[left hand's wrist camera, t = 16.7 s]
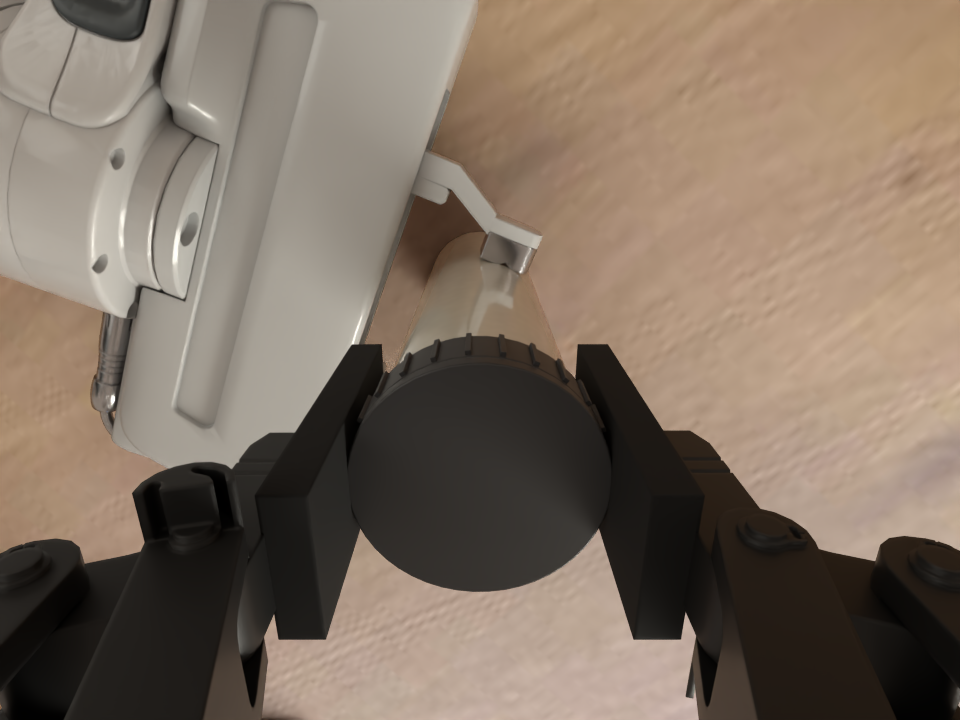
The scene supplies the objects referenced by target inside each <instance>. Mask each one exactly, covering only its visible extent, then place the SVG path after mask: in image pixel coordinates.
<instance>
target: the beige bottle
mask: <svg viewBox="0 0 960 720" xmlns="http://www.w3.org/2000/svg"><path fill="white" fill-rule="evenodd" d="M485 235H486V233H485V232H471V233H467V234H464V235H461V236H459V237H457V238H455V239H454V240H452V241H451V242H449V243H448V244H447V245H446V246H445V247H444V248H443V249H442V250H441V252H440V253H439V255H438V257H437V259H436V261H435V263H434V266H433V268H432V271H431V274H430V276H429V279H428V281H427V284H426V286H425V289H424V292H423V294H422V297H421V299H420V302H419V304H418V307H417V310H416V312H415V315H414V317H413V320H412V323H411V325H410V328H409V330H408V333H407V335H406V338H405V341H404V343H403V346H402V348H401V351H400V353H399V356H398V359H397V361H396V364H395V366H394V368H395V367H396V366H397V365H398V364H400V363H401V362H402V361H403V360H404V358H405V355H406V354H407V353H409V352H411V354H414V353H416V352H417V351H419V350H421V349H423V348H425V347H428V346H430V345H433V343H434V340H436V339H440V342H441V341H445V340H449V339H452V338H459V337H466V333H472V336H493V337H499V334H503V335H504V336H505V338H506V339H510V340H515V341H519V342H521V343H524V344H527V345H530V343H533V344H535V345H536V348H537V349H538V350H540V351H542V352H544V353H545V354H547V355H549V356H550V357H552V358H553V359H554V360H557V359H558V358H559V359H561V360H562V358H561V355H560V353H559V350H558V347H557V345H556V342H555V340H554V337H553V334H552V332H551V329H550V327H549V324H548V321H547V319H546V316H545V314H544V311H543V309H542V306H541V303H540V301H539V298H538V296H537V293H536V290H535V288H534V285H533V283H532V280H531V277H530V275H529V272H528V271H527V273H526V274H520V273H517V272H515V271H513V270H511V269H509V268H508V266H507V265H506V263H503V264H495V263H492V262H490V261H487V260H485V259H482V258H480V253H481V252H480V248H481V245H482V243H483V240H484V237H485ZM562 362H563V360H562ZM563 364H564V363H563ZM564 367H565V366H564ZM565 369H566V368H565Z"/></svg>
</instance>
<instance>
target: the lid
mask: <svg viewBox="0 0 960 720" xmlns="http://www.w3.org/2000/svg"><path fill="white" fill-rule="evenodd" d="M357 422H358V423H360V425H359V428H358V430H357V432H356V435H355V437H354V440H353V443H352V445H351V448H350V452H349V457H348V462H347V470H348V482H349V492H350V501H351V509H352V511H353V514H354V516H355V518H356V521H357V523H358V525H359V527H360V528H361V530H362V532H363V533H364V535H365V537H366V538H367V539H368V540H369V542H370V543H371V544H372V545H373V546H374V548H375V549H376V550H377V551H378V552H379V553H380V554H381V555H382V556H384V557H385V558H386V559H387V560H388V561H389V562H391V563H392V564H393V565H395V566H396V567H397V568H399V569H401V570H402V571H404V572H406V573H408V574H409V575H411V576H413V577H415V578H418V579H420V580H422V581H424V582H427V583H430V584H433V585H436V586H440V587H444V588H449V589H453V590H460V591H471V592H490V591H499V590H506V589H511V588H515V587H520V586H523V585H526V584H529V583H532V582H535V581H537V580H539V579H542V578H544V577H546V576H548V575H550V574H552V573H553V572H555V571H557V570H558V569H560V568H562V567H563V566H564V565H566V564H567V563H568V562H570V561H571V560H572V559H573V558H575V557H576V556H577V555H578V554H579V553H580V552H581V551H582V550H583V549H584V548H585V547H586V546H587V544H588V543H589V542H590V540H591V539H592V538H593V537H594V535H595V534H596V532H597V530H598V528H599V527H600V525H601V523H602V521H603V519H604V516H605V514H606V511H607V509H608V505H609V496H610V486H611V475H612V461H611V456H610V452H609V447H608V445H607V442H606V440H605V437H604V435H603V433H604V432H606V428H605V426H604V424H603V421H602V419H601V417H600V415H599V412H598V410H597V408H596V406H595V404H593V405H592V402H591V400H590V398H589V395H588V393H587V391H586V389H585V386H584V384H583V382H582V381H581V379H579V380H578V381H576V379H575V378H574V377H573V376H572V374H571V373H569V372H568V371H567V370H566V369H565V367H564V364H563V362H562V360H561V359H559V358H558V359H557V360H554V359H553V358H552V357H550V356H549V355H547V354H545V353H544V352H542V351H540V350H538V349H537V348H536V345H535V344H533V343H530V345H527V344H524V343H521V342H519V341H515V340H510V339H506V338H505V336H504V335H503V334H499V337H493V336H472V333H466V337H459V338H452V339H449V340H445V341H441V342H440V339H436V340H434V343H433V345H430V346H428V347H425V348H423V349H421V350H419V351H417V352H416V353H414V354H411V352H409V353H407V354H406V355H405V358H404V360H403V361H402V362H401V363H400V364H398V365H397V366H396V367H395V368H394V369H393V370H392V371H391V372H390V373H388V372H387V371H385V373H384V374H383V375H382V378H381V380H380V382H379V385H378V387H377V389H376V391H375V393H374V395H373V396H370V395H368V397H367V399H366V401H365V404H364V406H363V408H362V410H361V413H360V415H359V417H358V419H357Z"/></svg>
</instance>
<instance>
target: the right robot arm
mask: <svg viewBox="0 0 960 720" xmlns="http://www.w3.org/2000/svg"><path fill="white" fill-rule="evenodd" d="M477 14H478V0H0V275H1V276H4V277H7V278H9V279H12V280H15V281H18V282H21V283H24V284H26V285H29V286H32V287H35V288H38V289H41V290H43V291H46V292H49V293H52V294H54V295H57V296H60V297H63V298H66V299H69V300H71V301H74V302H77V303H80V304H83V305H86V306H89V307H91V308H94V309H97V310H100V311H103V318H102V324H101V330H100V336H99V359H98V360H99V361H98V368H97V373H96V374H95V375H94V378H93V380H92V384H91V392H90V397H91V405H92V407H93V408H94V409H95V410H97V411H100V415H101V419H102V422H103V424H104V426H105V428H106V429H107V431H108V432H109V434H110V435H111V438H112V440H113V442H114V443H115V444H116V445H118V446H119V447H121V448H123V449H125V450H127V451H129V452H132V453H135V454H139V455H142V456H145V457H148V458H150V459H151V460H153V461H155V462H157V463H158V464H160V465H162V466H164V467H166V468H168V469H170V468H172V467H175V466H179V465H184V464H189V463H194V462H215V463H220V464H224V465H227V466H228V467H229V468H231V469H232V468H233V467H234V465H235V464H236V463H239V459H240V458H241V456H242V455H243V454H244V452H245V451H246V450H247V449H248V447H249V446H250V445H251V444H253V443H254V442H256V441H257V440H259V439H260V438H262V437H264V436H265V435H267V434H268V433H275V432H296V430H297V428H298V427H299V425H300V424H301V422H302V421H303V419H304V418H305V416H306V414H307V413H308V411H309V410H310V408H311V407H312V405H313V404H314V402H315V400H316V399H317V397H318V396H319V394H320V393H321V391H322V390H323V388H324V387H325V385H326V383H327V382H328V380H329V379H330V377H331V376H332V374H333V373H334V371H335V369H336V368H337V366H338V365H339V363H340V362H341V360H342V359H343V357H344V355H345V354H346V352H347V351H348V349H349V348H350V346H351V345H352V344H365V341H366V338H367V335H368V332H369V329H370V326H371V324H372V321H373V318H374V315H375V312H376V309H377V306H378V303H379V300H380V297H381V295H382V292H383V289H384V286H385V283H386V280H387V277H388V274H389V271H390V268H391V266H392V263H393V260H394V257H395V254H396V251H397V248H398V245H399V242H400V240H401V237H402V234H403V231H404V228H405V225H406V222H407V219H408V216H409V213H410V211H411V208H412V205H413V202H414V199H415V196H416V195H417V196H419V197H422V198H425V199H427V200H430V201H432V202H435V203H437V204H440V205H442V204H443V203H445V202H446V200H447V199H448V197H449V194H450V192H451V190H452V191H453V192H454V193H455V195H456V196H457V197H458V199H459V200H460V201H461V202H462V204H463V205H464V206H465V207H466V209H467V210H468V211H469V212H470V214H471V215H472V216H473V217H474V219H475V220H476V221H477V222H478V224H479V225H480V226H481V228H482V229H483V230H484V231H485V233H486V235H485V237H484V240H483V243H482V245H481V248H480V252H481V253H480V258H482V259H485V260H487V261H490V262H492V263H495V264H503V263H506V265H507V266H508V268H509V269H511V270H513V271H515V272H517V273H520V274H526V273H527V271H528V269H529V267H530V264H531V262H532V260H533V258H534V256H535V253H536V251H537V249H538V246H539V244H540V242H541V240H542V237H543V235H542V234H541V232H540V231H538V230H536V229H534V228H532V227H530V226H528V225H525V224H523V223H521V222H518V221H516V220H513V219H511V218H509V217H506V216H504V215H501V214H499V213H496V209H495V207H494V206H493V205H492V203H491V202H490V201H489V199H488V198H487V197H486V195H485V194H484V193H483V191H482V190H481V189H480V187H479V186H478V185H477V184H476V182H475V181H474V180H473V178H472V177H471V176H470V174H469V173H468V172H467V170H466V169H465V168H464V166H463V165H462V164H461V163H459V162H456V161H454V160H452V159H449V158H447V157H444V156H442V155H440V154H437V153H435V152H433V151H431V150H432V147H433V144H434V141H435V138H436V135H437V132H438V129H439V126H440V124H441V121H442V118H443V115H444V112H445V109H446V106H447V103H448V100H449V98H450V95H451V92H452V89H453V86H454V83H455V80H456V77H457V74H458V71H459V69H460V66H461V63H462V60H463V57H464V54H465V51H466V48H467V45H468V42H469V39H470V37H471V34H472V31H473V28H474V25H475V22H476V18H477ZM386 367H387V366H386V363H385V362H383V373H384V372H385V370H386ZM113 411H116V413H115V419H114V417H113V413H112V412H113Z"/></svg>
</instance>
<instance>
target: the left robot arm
mask: <svg viewBox="0 0 960 720" xmlns="http://www.w3.org/2000/svg"><path fill="white" fill-rule="evenodd" d="M383 374H384V373H383V358H382V344H352V345H351V346H350V348H349V349H348V351H347V352H346V354H345V355H344V357H343V359H342V360H341V362H340V363H339V365H338V366H337V368H336V369H335V371H334V373H333V374H332V376H331V377H330V379H329V380H328V382H327V383H326V385H325V387H324V388H323V390H322V391H321V393H320V394H319V396H318V397H317V399H316V400H315V402H314V404H313V405H312V407H311V408H310V410H309V411H308V413H307V414H306V416H305V418H304V419H303V421H302V422H301V424H300V425H299V427H298V428H297V430H296V432H275V433H268V434H267V435H265V436H264V437H262V438H260V439H259V440H257V441H256V442H254V443H253V444H251V445H250V446H249V447H248V449H247V450H246V451H245V452H244V454H243V455H242V456H241V458H240V459H239V463H236V464H235V465H234V467H233V468H232V469H231V468H229V467H228V466H227V465H224V464H220V463H215V462H194V463H189V464H184V465H179V466H175V467H172V468H170V469H167V470H164V471H162V472H159V473H157V474H155V475H153V476H152V477H150V478H148V479H147V480H145V481H143V482H142V483H141V484H140V485H139V486H138V487H137V488H136V489H135V490H134V492H133V493H132V495H133V499H134V502H135V506H136V510H137V514H138V518H139V522H140V526H141V530H142V533H143V537H144V541H145V543H144V545H143V548H142V550H141V552H137V553H134V554H130V555H126V556H121V557H116V558H111V559H106V560H101V561H96V562H92V563H87V564H85V563H84V560H83V557H82V554H81V551H80V547H78V546H77V545H76V544H74V543H73V542H72V541H69V540H62V539H49V540H40V541H33V542H29V543H25V544H24V545H22V544H21V545H18V546H15V547H12V548H10V549H8V550H7V551H5V552H3V553H1V554H0V704H1V706H2V709H1V710H0V720H261V717H262V709H263V700H264V691H265V682H266V673H267V664H268V659H267V652H266V646H265V640H264V635H265V633H266V631H267V629H268V626H269V624H270V622H271V620H272V617H273V615H275V621H276V627H277V633H278V639H279V640H326V637H327V634H328V631H329V628H330V624H331V621H332V618H333V615H334V612H335V608H336V605H337V602H338V599H339V596H340V592H341V589H342V586H343V583H344V579H345V576H346V573H347V570H348V567H349V563H350V560H351V557H352V554H353V551H354V547H355V544H356V541H357V538H358V534H359V531H360V527H359V525H358V523H357V521H356V518H355V516H354V514H353V511H352V509H351V501H350V492H349V482H348V470H347V462H348V457H349V452H350V448H351V445H352V443H353V440H354V437H355V435H356V432H357V430H358V428H359V425H360V423H358V422H357V419H358V417H359V415H360V413H361V410H362V408H363V406H364V404H365V401H366V399H367V397H368V395H370V396H373V395H374V393H375V391H376V389H377V387H378V385H379V382H380V380H381V378H382V375H383ZM579 379H581V381H582V382H583V384H584V386H585V389H586V391H587V393H588V395H589V398H590V400H591V402H592V405H593V404H595V406H596V408H597V410H598V412H599V415H600V417H601V419H602V421H603V424H604V426H605V428H606V432H604V433H603V435H604V437H605V440H606V442H607V445H608V447H609V452H610V456H611V461H612V475H611V486H610V496H609V505H608V509H607V511H606V514H605V516H604V519H603V521H602V523H601V525H600V527H599V530H600V533H601V536H602V539H603V543H604V546H605V549H606V552H607V556H608V559H609V562H610V565H611V568H612V572H613V575H614V578H615V581H616V584H617V588H618V591H619V594H620V597H621V601H622V604H623V607H624V610H625V613H626V617H627V620H628V623H629V626H630V630H631V633H632V636H633V639H634V640H681V635H682V629H683V623H684V617H685V611H686V614H687V616H688V618H689V620H690V623H691V625H692V627H693V629H694V632H695V634H696V640H695V646H694V651H693V657H692V662H691V668H690V674H689V679H688V685H687V691H686V697H689V698H693V697H694V692H695V690H696V698H697V707H698V716H699V720H960V707H959V706H958V704H959V702H960V551H959V550H957V549H955V548H953V547H951V546H949V545H947V544H944V543H941V542H935V541H934V540H930V539H925V538H917V537H908V536H901V537H894V538H889V539H887V540H886V541H885V542H883V543H882V544H881V545H880V548H879V551H878V555H877V558H876V561H871V560H866V559H861V558H856V557H851V556H846V555H841V554H836V553H831V552H828V551H824V550H820V549H818V547H817V544H816V542H815V541H814V540H813V538H812V537H811V536H810V534H809V533H808V532H807V530H805V529H804V528H803V527H801V526H800V525H798V524H797V523H796V522H794V521H793V520H791V519H789V518H786V517H784V516H782V515H779V514H777V513H775V512H771V511H767V510H763V509H760V508H759V507H758V505H757V504H756V503H755V501H754V500H753V499H752V498H751V496H750V495H749V494H748V492H747V491H746V490H745V488H744V487H743V486H742V485H741V483H740V482H739V481H738V479H737V478H736V477H735V476H734V474H733V473H730V469H729V468H728V466H727V465H726V464H725V463H724V461H721V457H720V456H719V455H718V454H717V452H716V451H715V450H714V448H713V447H712V446H711V444H710V443H708V442H707V441H705V440H704V439H702V438H701V437H699V436H697V435H696V434H694V433H693V432H691V431H663V429H662V428H661V426H660V425H659V423H658V422H657V420H656V419H655V417H654V415H653V414H652V412H651V411H650V409H649V408H648V406H647V405H646V403H645V401H644V400H643V398H642V397H641V395H640V394H639V392H638V391H637V389H636V387H635V386H634V384H633V383H632V381H631V380H630V378H629V377H628V375H627V373H626V372H625V370H624V369H623V367H622V366H621V364H620V363H619V361H618V359H617V358H616V356H615V355H614V353H613V352H612V350H611V349H610V347H609V345H608V344H578V349H577V364H576V381H578V380H579Z"/></svg>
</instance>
